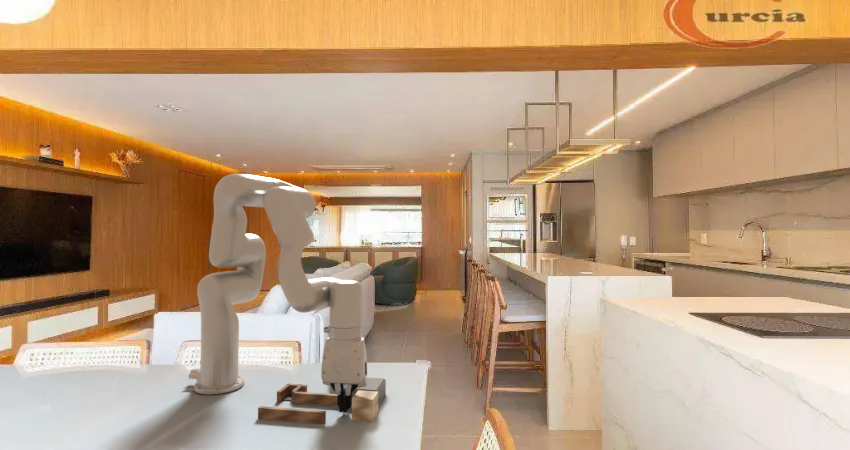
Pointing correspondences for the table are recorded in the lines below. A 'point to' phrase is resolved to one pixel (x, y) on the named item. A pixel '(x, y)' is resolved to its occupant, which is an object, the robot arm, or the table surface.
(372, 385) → the stand
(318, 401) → the channel
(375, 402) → the block
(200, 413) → the table surface
